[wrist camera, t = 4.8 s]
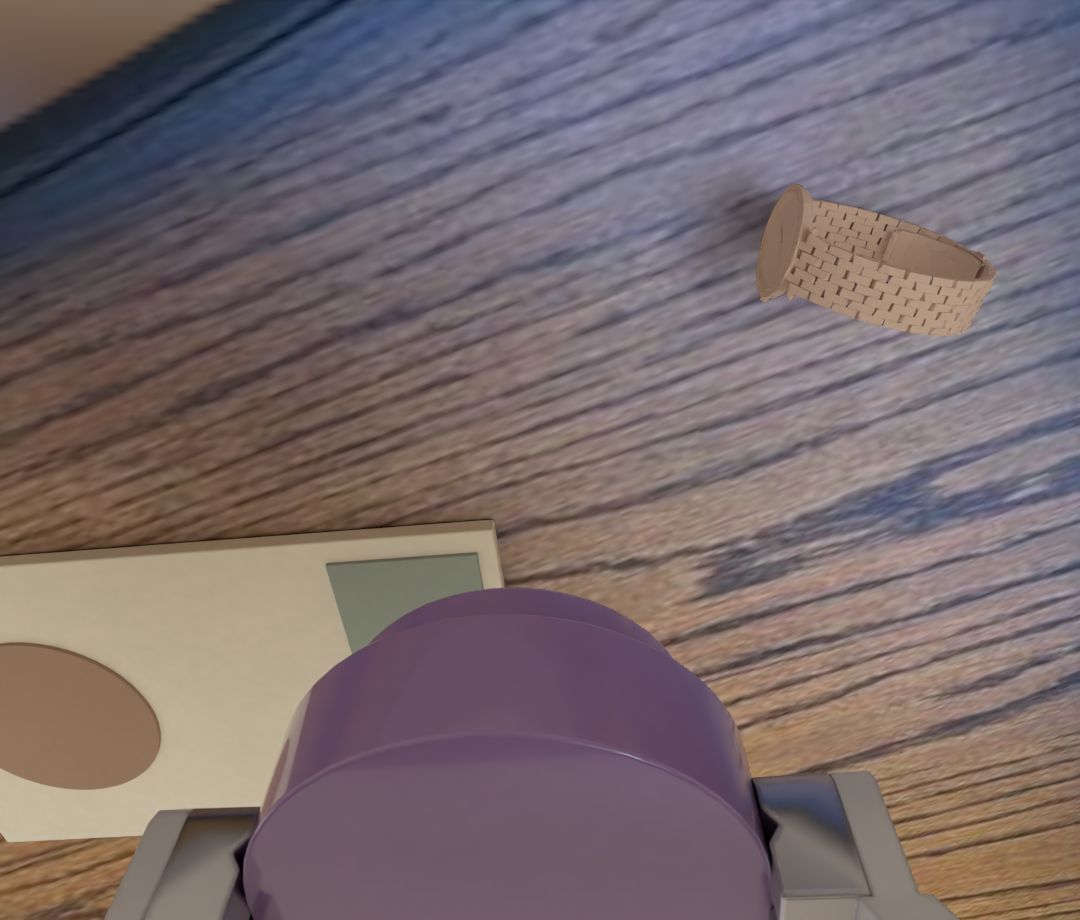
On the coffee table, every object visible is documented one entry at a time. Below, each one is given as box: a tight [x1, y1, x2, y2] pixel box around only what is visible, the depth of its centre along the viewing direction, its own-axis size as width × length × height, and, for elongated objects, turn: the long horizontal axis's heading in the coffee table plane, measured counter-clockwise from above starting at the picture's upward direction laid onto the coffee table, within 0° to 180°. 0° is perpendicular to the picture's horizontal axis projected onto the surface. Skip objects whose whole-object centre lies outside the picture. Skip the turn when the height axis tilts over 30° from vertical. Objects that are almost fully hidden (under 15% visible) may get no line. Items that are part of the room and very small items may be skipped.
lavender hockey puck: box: [243, 588, 773, 920], centre depth 11 cm, size 6×6×3 cm
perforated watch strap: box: [756, 184, 997, 336], centre depth 19 cm, size 3×5×5 cm, turn 78°
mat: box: [0, 520, 505, 842], centre depth 30 cm, size 14×22×1 cm, turn 96°
